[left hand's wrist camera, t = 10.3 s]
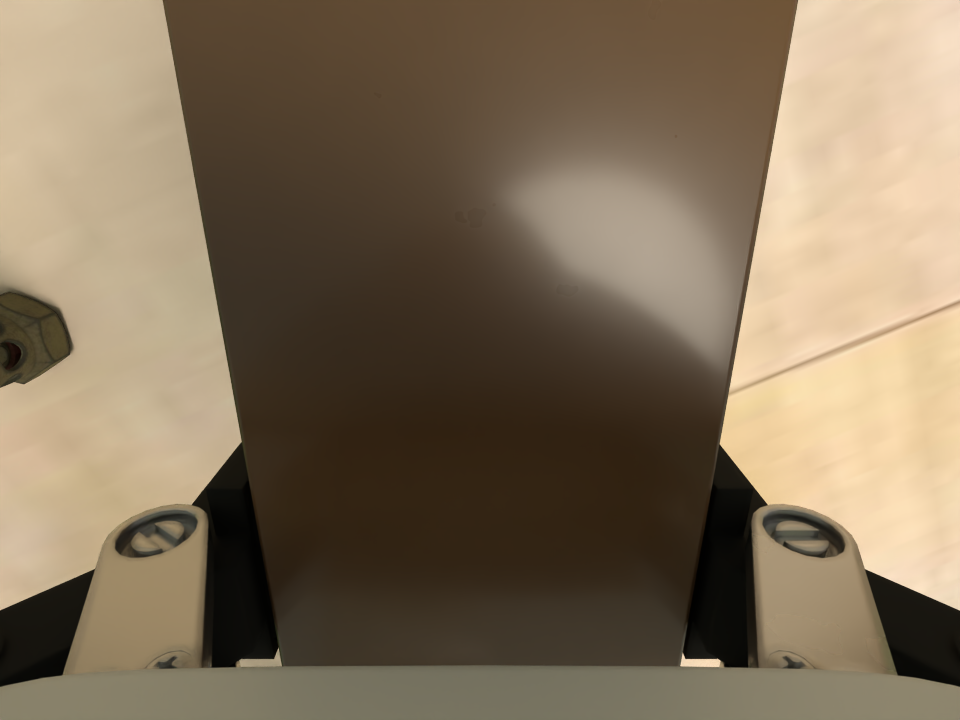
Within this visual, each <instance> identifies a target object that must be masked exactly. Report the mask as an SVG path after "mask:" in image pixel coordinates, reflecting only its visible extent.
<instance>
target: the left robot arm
mask: <svg viewBox="0 0 960 720" xmlns="http://www.w3.org/2000/svg"><path fill="white" fill-rule="evenodd" d="M278 647H279V646H278V640H277V635H276V629H275V623H274V618H273V612H272V607H271V601H270V595H269V590H268V584H267V579H266V573H265V568H264V562H263V556H262V551H261V545H260V540H259V534H258V528H257V523H256V517H255V512H254V506H253V501H252V495H251V489H250V484H249V478H248V473H247V467H246V462H245V456H244V450H243V445H242V443H240V445H239V446H238V447H237V448H236V450H235V451H234V452H233V453H232V455H231V456H230V457H229V458H228V460H227V461H226V462H225V464H224V465H223V466H222V467H221V469H220V470H219V471H218V472H217V474H216V475H215V476H214V477H213V479H212V480H211V481H210V482H209V484H208V485H207V486H206V487H205V489H204V490H203V491H202V492H201V494H200V495H199V496H198V497H197V499H196V500H195V501H194V503H193V504H192V505H186V504H174V505H167V506H161V507H157V508H154V509H150V510H147V511H144V512H142V513H140V514H138V515H135V516H133V517H131V518H130V519H128V520H126V521H125V522H123V523H122V524H120V525H119V526H117V527H116V528H115V529H114V530H113V531H112V532H111V533H110V534H109V535H108V537H107V538H106V540H105V542H104V544H103V546H102V549H101V552H100V556H99V559H98V562H97V565H96V569H94V570H92V571H89V572H87V573H85V574H83V575H80V576H78V577H76V578H73V579H71V580H69V581H67V582H64V583H62V584H60V585H57V586H55V587H53V588H51V589H48V590H46V591H44V592H41V593H39V594H37V595H35V596H32V597H30V598H28V599H25V600H23V601H21V602H19V603H16V604H14V605H12V606H9V607H7V608H5V609H3V610H0V720H960V611H959V610H957V609H955V608H952V607H950V606H948V605H946V604H943V603H941V602H939V601H936V600H934V599H932V598H930V597H927V596H925V595H923V594H920V593H918V592H916V591H914V590H911V589H909V588H907V587H904V586H902V585H900V584H898V583H895V582H893V581H891V580H888V579H886V578H884V577H881V576H879V575H877V574H875V573H872V572H870V571H868V570H865V569H864V565H863V562H862V559H861V556H860V552H859V549H858V546H857V544H856V542H855V540H854V538H853V537H852V535H851V534H850V533H849V532H848V531H847V530H846V529H845V528H844V527H843V526H841V525H840V524H838V523H837V522H835V521H834V520H832V519H830V518H829V517H827V516H825V515H822V514H820V513H818V512H816V511H813V510H810V509H806V508H803V507H799V506H793V505H786V504H774V505H767V503H766V502H765V501H764V500H763V498H762V497H761V496H760V495H759V493H758V492H757V491H756V490H755V488H754V487H753V486H752V484H751V483H750V482H749V481H748V479H747V478H746V477H745V476H744V474H743V473H742V472H741V471H740V469H739V468H738V467H737V466H736V464H735V463H734V462H733V461H732V459H731V458H730V457H729V456H728V454H727V453H726V452H725V451H724V449H723V448H722V447H721V445H720V444H719V450H718V455H717V461H716V466H715V472H714V478H713V483H712V489H711V495H710V500H709V506H708V512H707V517H706V523H705V529H704V534H703V540H702V546H701V551H700V557H699V563H698V568H697V574H696V579H695V585H694V591H693V596H692V602H691V608H690V613H689V619H688V625H687V630H686V636H685V642H684V647H683V654H684V656H685V659H717V658H718V659H719V660H721V662H720V667H678V666H497V665H463V666H282V667H240V662H239V660H240V659H274V657H275V655H276V652H277V650H278Z"/></svg>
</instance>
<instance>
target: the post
mask: <svg viewBox="0 0 960 720" xmlns="http://www.w3.org/2000/svg"><path fill="white" fill-rule="evenodd" d="M797 3H798V0H163V4H164V10H165V15H166V21H167V26H168V32H169V37H170V43H171V49H172V54H173V60H174V65H175V71H176V76H177V82H178V88H179V93H180V99H181V104H182V110H183V116H184V121H185V127H186V132H187V138H188V143H189V149H190V155H191V160H192V166H193V171H194V177H195V183H196V188H197V194H198V199H199V205H200V210H201V216H202V222H203V227H204V233H205V238H206V244H207V249H208V255H209V261H210V266H211V272H212V277H213V283H214V289H215V294H216V300H217V305H218V311H219V316H220V322H221V328H222V333H223V339H224V344H225V350H226V356H227V361H228V367H229V372H230V378H231V383H232V389H233V395H234V400H235V406H236V411H237V417H238V422H239V428H240V434H241V439H242V445H243V450H244V456H245V462H246V467H247V473H248V478H249V484H250V489H251V495H252V501H253V506H254V512H255V517H256V523H257V528H258V534H259V540H260V545H261V551H262V556H263V562H264V568H265V573H266V579H267V584H268V590H269V595H270V601H271V607H272V612H273V618H274V623H275V629H276V635H277V640H278V646H279V651H280V657H281V662H282V666H463V665H497V666H678V667H680V664H681V659H682V653H683V647H684V642H685V636H686V630H687V625H688V619H689V613H690V608H691V602H692V596H693V591H694V585H695V579H696V574H697V568H698V563H699V557H700V551H701V546H702V540H703V534H704V529H705V523H706V517H707V512H708V506H709V500H710V495H711V489H712V483H713V478H714V472H715V466H716V461H717V455H718V450H719V444H720V438H721V433H722V427H723V421H724V416H725V410H726V404H727V399H728V393H729V387H730V382H731V376H732V370H733V365H734V359H735V353H736V348H737V342H738V337H739V331H740V325H741V320H742V314H743V308H744V303H745V297H746V291H747V286H748V280H749V274H750V269H751V263H752V257H753V252H754V246H755V241H756V235H757V229H758V224H759V218H760V212H761V207H762V201H763V195H764V190H765V184H766V178H767V173H768V167H769V161H770V156H771V150H772V144H773V139H774V133H775V128H776V122H777V116H778V111H779V105H780V99H781V94H782V88H783V82H784V77H785V71H786V65H787V60H788V54H789V48H790V43H791V37H792V31H793V26H794V20H795V15H796V9H797Z"/></svg>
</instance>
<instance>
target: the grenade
mask: <svg viewBox="0 0 960 720" xmlns="http://www.w3.org/2000/svg"><path fill="white" fill-rule="evenodd" d="M69 355H70V348H69V342H68V338H67V334H66V331H65V329H64V327H63V324H62V322H61V320H60V319H59V317H58V315H57V314H56V312H54V311H53V310H51V309H50V308H48V307H47V306H45V305H43V304H41V303H39V302H37V301H34V300H32V299H29V298H27V297H24V296H21V295H18V294H15V293H11V292H7V293H4V294H1V295H0V388H1V387H3V386H6V385H8V384H11V383H13V382H16V383H21V384H25V383H27V382H29V381H31V380H33V379H34V378H36V377H38V376H40V375H41V374H43V373H44V372H46V371H47V370H49V369H50V368H52V367H53V366H55V365H56V364H58V363H59V362H60V361H62V360H63V359H65V358H66V357H67V356H69Z"/></svg>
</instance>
